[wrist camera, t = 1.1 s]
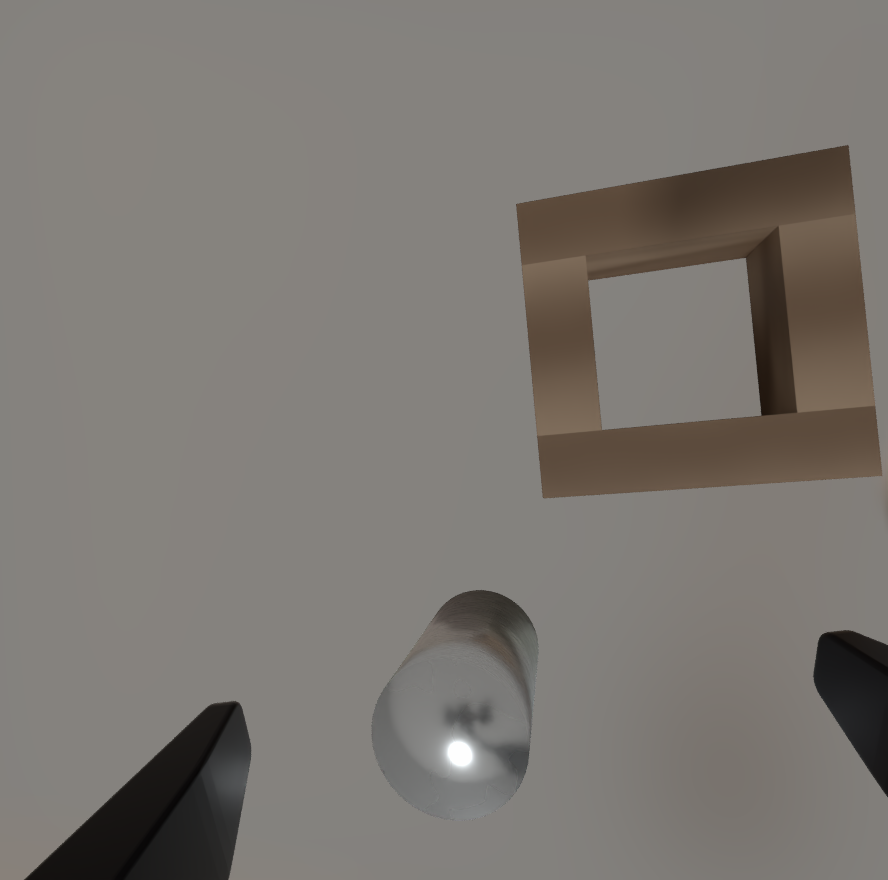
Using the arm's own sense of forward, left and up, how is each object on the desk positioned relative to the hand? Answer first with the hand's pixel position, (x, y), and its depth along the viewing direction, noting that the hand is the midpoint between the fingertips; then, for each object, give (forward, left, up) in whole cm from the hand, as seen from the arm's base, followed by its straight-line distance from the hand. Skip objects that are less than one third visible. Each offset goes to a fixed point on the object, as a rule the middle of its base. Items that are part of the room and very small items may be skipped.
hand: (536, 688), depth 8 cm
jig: (+7, -5, -13) cm, 16 cm away
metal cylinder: (-4, +3, -13) cm, 14 cm away
